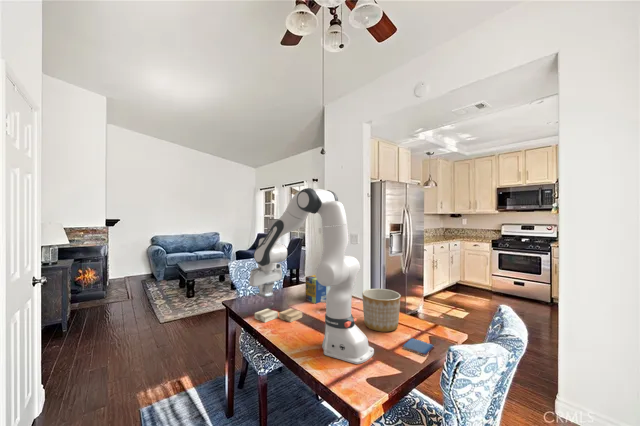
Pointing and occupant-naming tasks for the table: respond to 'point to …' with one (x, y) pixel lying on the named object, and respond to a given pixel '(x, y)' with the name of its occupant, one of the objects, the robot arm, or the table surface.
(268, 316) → the stand
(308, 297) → the protein box
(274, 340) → the table surface
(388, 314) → the planter
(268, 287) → the housing
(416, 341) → the blue sponge
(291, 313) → the stand
